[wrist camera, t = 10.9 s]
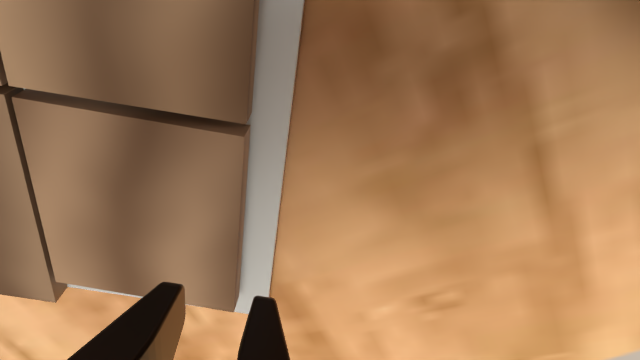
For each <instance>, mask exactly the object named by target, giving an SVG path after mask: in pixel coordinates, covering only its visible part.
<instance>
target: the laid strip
mask: <svg viewBox="0 0 640 360" xmlns="http://www.w3.org/2000/svg"><path fill="white" fill-rule="evenodd" d="M23 90H24V89H23V88H19V87H13V86H9V85H8V81H7V77H6V72H5V68H4V64H3V60H2V56H1V52H0V294H2V295H8V296H15V297H22V298H28V299H35V300H42V301H48V302H55V303H56V302H57V300H58V299H59V298H60V296H61V295H62V294H63V292H64V291H65V289H66V288H67V284H66V283H60V282H56V280H55V276H54V272H53V268H52V264H51V260H50V255H49V251H48V247H47V243H46V239H45V235H44V230H43V226H42V222H41V218H40V214H39V210H38V205H37V201H36V197H35V193H34V189H33V185H32V181H31V176H30V172H29V168H28V164H27V160H26V156H25V151H24V147H23V143H22V139H21V135H20V131H19V127H18V122H17V118H16V114H15V110H14V106H13V102H12V96H14V95H16V94H18V93H19V92H21V91H23Z"/></svg>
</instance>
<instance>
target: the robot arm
mask: <svg viewBox="0 0 640 360" xmlns="http://www.w3.org/2000/svg"><path fill="white" fill-rule="evenodd" d="M184 321H185V288H184V286H183V285H182V284H178V283H172V282H162V283H160V284H158V285H157V286H156V287H155V288H154V289H152V290H151V291H150V292H149V293H147V294H146V295H145V296H144V297H143V298H141V299H140V300H139V301H138V302H137V303H135V304H134V305H133V306H132V307H130V308H129V309H128V310H127V311H126V312H124V313H123V314H122V315H121V316H120V317H118V318H117V319H116V320H115V321H113V322H112V323H111V324H110V325H109V326H107V327H106V328H105V329H104V330H102V331H101V332H100V333H99V334H98V335H96V336H95V337H94V338H93V339H92V340H90V341H89V342H88V343H87V344H85V345H84V346H83V347H82V348H81V349H79V350H78V351H77V352H76V353H75V354H73V355H72V356H71V357H70V358H68V359H67V360H173V358H174V355H175V352H176V348H177V345H178V342H179V338H180V335H181V332H182V328H183V325H184ZM237 360H290V357H289V353H288V349H287V345H286V341H285V336H284V332H283V328H282V324H281V320H280V316H279V312H278V307H277V303H276V300H275V299H274V298H271V297H264V296H255V297H254V298H253V301H252V304H251V308H250V311H249V315H248V318H247V322H246V325H245V329H244V332H243V336H242V339H241V343H240V347H239V352H238V358H237Z"/></svg>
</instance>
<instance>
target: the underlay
mask: <svg viewBox="0 0 640 360" xmlns="http://www.w3.org/2000/svg"><path fill="white" fill-rule="evenodd" d="M304 2H305V0H259V14H258V29H257V43H256V58H255V73H254V87H253V102H252V113H251V115H250V117H249V119H248V121H247V124H248V125H251V127H250V141H249V156H248V171H247V186H246V200H245V215H244V230H243V245H242V259H241V274H240V289H239V298H238V301H237V304H236V307H235V310H234V312H239V313H246V314H249V311H250V308H251V304H252V301H253V298H254V297H255V296H264V297H269V294H270V286H271V278H272V269H273V261H274V253H275V244H276V236H277V227H278V219H279V211H280V202H281V194H282V186H283V177H284V169H285V161H286V152H287V144H288V136H289V127H290V119H291V111H292V102H293V94H294V86H295V77H296V69H297V61H298V52H299V44H300V36H301V27H302V19H303V11H304ZM23 89H24V90H25V88H23ZM67 287H73V288H80V289H86V290H93V291H99V292H106V293H113V294H119V295H126V296H133V297H139V298H143V297H142V296H136V295H130V294H124V293H118V292H112V291H107V290H101V289H95V288H89V287H83V286H78V285H72V284H67ZM186 305H188V304H186ZM192 306H194V305H192ZM199 307H200V306H199Z"/></svg>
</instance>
